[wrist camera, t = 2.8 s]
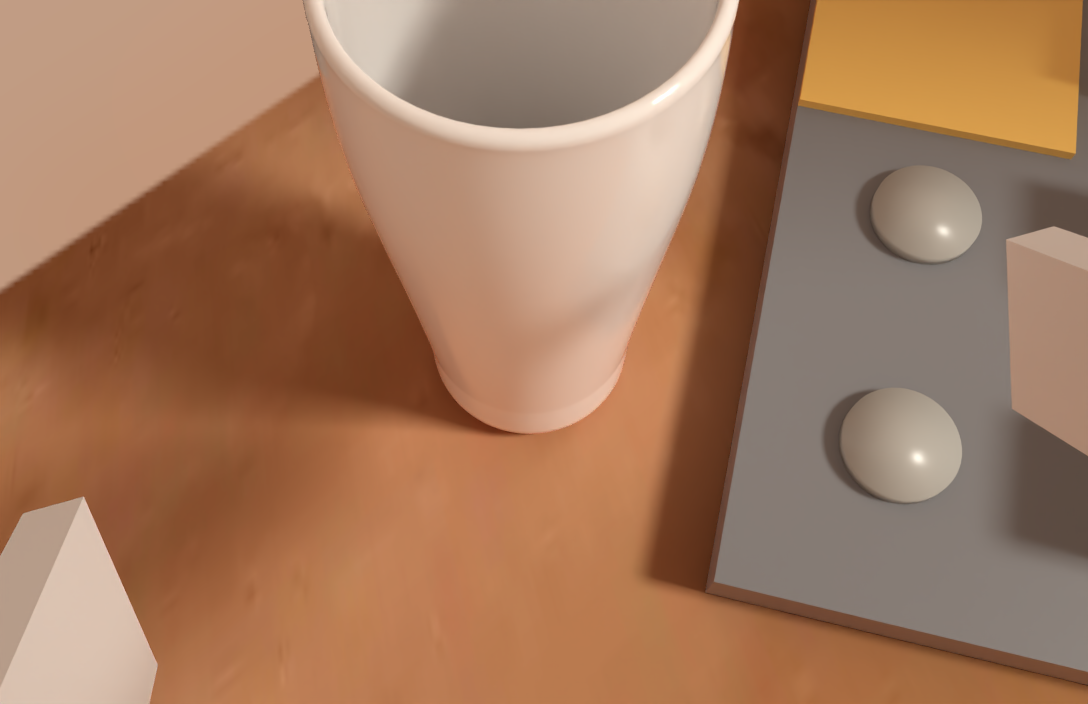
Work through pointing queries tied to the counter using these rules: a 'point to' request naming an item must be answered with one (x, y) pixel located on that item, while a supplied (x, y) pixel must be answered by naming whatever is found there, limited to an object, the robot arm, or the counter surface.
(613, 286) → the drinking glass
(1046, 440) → the game board
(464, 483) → the counter surface
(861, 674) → the counter surface
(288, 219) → the counter surface
